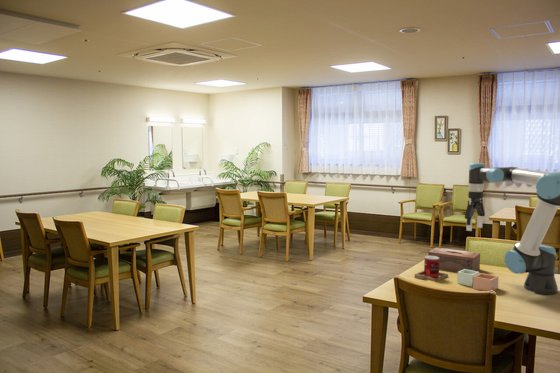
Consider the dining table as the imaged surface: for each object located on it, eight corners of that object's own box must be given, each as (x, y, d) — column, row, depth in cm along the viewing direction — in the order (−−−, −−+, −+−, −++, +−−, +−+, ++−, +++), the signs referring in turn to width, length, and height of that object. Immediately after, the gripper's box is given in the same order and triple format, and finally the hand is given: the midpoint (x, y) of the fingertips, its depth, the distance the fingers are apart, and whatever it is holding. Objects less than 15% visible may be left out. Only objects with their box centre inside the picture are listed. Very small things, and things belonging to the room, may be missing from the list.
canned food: (427, 273, 271) (427, 254, 270) (441, 276, 266) (441, 256, 265) (421, 276, 266) (422, 257, 264) (435, 279, 260) (436, 259, 259)
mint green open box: (478, 284, 253) (479, 271, 252) (472, 288, 247) (472, 274, 247) (464, 281, 259) (464, 269, 258) (457, 284, 253) (457, 271, 252)
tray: (447, 277, 266) (447, 274, 266) (436, 282, 257) (436, 278, 257) (426, 273, 275) (426, 269, 275) (414, 277, 266) (414, 274, 266)
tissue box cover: (479, 269, 283) (480, 253, 282) (472, 275, 271) (473, 257, 270) (436, 263, 298) (436, 247, 297) (428, 268, 287) (428, 251, 286)
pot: (497, 289, 244) (498, 276, 244) (490, 293, 238) (491, 280, 238) (480, 286, 251) (480, 273, 250) (472, 289, 245) (473, 276, 244)
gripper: (478, 188, 275) (477, 225, 277) (458, 192, 258) (457, 231, 260) (491, 189, 270) (490, 227, 272) (472, 193, 252) (471, 233, 254)
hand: (474, 229), depth 266 cm, fingers open, 13 cm apart
